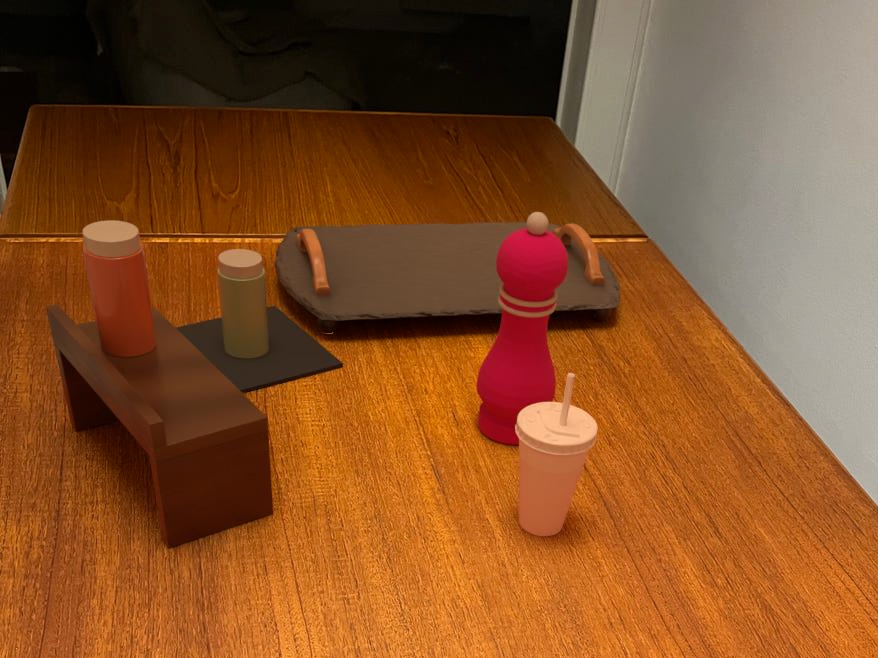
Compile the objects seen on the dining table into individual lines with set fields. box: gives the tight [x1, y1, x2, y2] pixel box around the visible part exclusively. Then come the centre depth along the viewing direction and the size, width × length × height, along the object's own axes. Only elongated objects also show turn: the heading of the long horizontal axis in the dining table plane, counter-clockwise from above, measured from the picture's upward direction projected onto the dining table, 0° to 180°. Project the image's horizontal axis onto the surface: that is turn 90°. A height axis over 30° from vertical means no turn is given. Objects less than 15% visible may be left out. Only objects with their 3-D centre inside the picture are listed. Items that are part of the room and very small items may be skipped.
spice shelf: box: [45, 303, 274, 549], centre depth 81 cm, size 20×9×11 cm, turn 37°
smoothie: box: [515, 372, 599, 537], centre depth 80 cm, size 6×6×14 cm
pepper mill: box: [476, 211, 568, 446], centre depth 88 cm, size 7×7×20 cm
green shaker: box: [216, 248, 269, 359], centre depth 97 cm, size 4×4×9 cm
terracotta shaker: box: [82, 219, 157, 357], centre depth 78 cm, size 4×4×9 cm
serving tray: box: [273, 221, 622, 333], centre depth 113 cm, size 39×23×6 cm, turn 106°
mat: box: [174, 305, 344, 394], centre depth 100 cm, size 14×14×1 cm
